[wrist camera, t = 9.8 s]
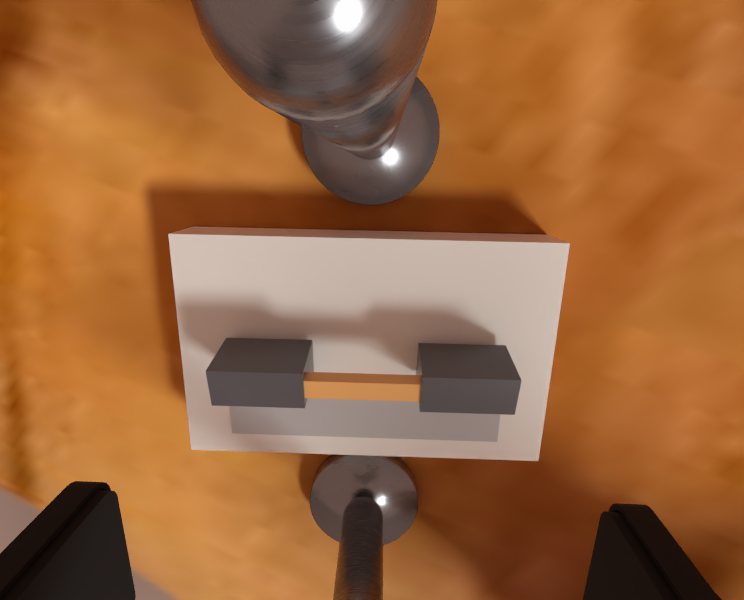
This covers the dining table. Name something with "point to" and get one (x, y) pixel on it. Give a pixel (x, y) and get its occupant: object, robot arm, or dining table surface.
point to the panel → (368, 331)
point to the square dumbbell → (364, 378)
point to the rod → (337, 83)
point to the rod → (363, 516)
